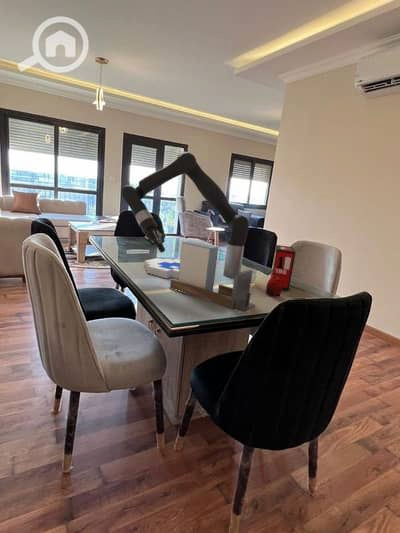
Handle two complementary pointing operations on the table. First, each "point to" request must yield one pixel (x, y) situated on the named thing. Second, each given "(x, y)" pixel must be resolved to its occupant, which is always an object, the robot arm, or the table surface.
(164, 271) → the stepped white slab
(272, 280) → the red clay folk toy
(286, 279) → the cleaning product box
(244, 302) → the bookend
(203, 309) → the table surface
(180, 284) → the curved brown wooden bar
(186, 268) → the book
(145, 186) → the robot arm
